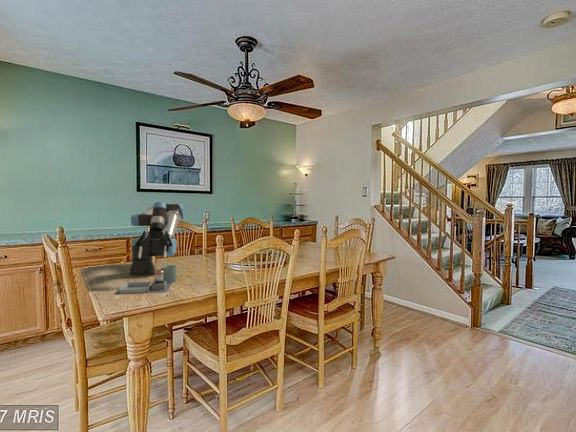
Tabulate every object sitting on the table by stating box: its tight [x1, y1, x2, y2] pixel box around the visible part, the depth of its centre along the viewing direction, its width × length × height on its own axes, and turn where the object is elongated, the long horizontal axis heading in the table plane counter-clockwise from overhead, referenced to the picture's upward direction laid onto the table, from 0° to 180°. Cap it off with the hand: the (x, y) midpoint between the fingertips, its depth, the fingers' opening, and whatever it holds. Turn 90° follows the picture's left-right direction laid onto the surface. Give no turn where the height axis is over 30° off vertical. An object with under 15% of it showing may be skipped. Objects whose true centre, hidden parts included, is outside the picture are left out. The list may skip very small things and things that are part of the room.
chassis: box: [117, 280, 173, 295], centre depth 166 cm, size 16×23×5 cm
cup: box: [161, 265, 178, 284], centre depth 180 cm, size 8×8×10 cm
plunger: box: [153, 269, 164, 283], centre depth 166 cm, size 5×5×6 cm
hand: (152, 257), depth 180 cm, fingers open, 13 cm apart
